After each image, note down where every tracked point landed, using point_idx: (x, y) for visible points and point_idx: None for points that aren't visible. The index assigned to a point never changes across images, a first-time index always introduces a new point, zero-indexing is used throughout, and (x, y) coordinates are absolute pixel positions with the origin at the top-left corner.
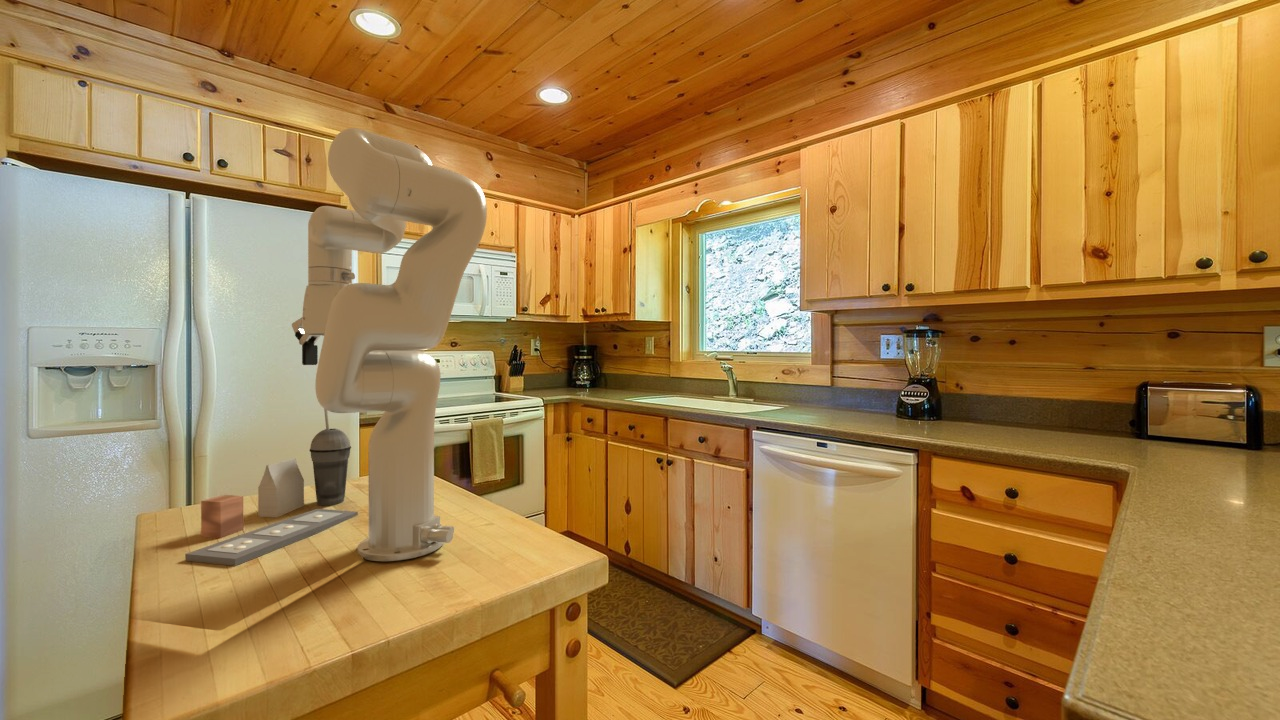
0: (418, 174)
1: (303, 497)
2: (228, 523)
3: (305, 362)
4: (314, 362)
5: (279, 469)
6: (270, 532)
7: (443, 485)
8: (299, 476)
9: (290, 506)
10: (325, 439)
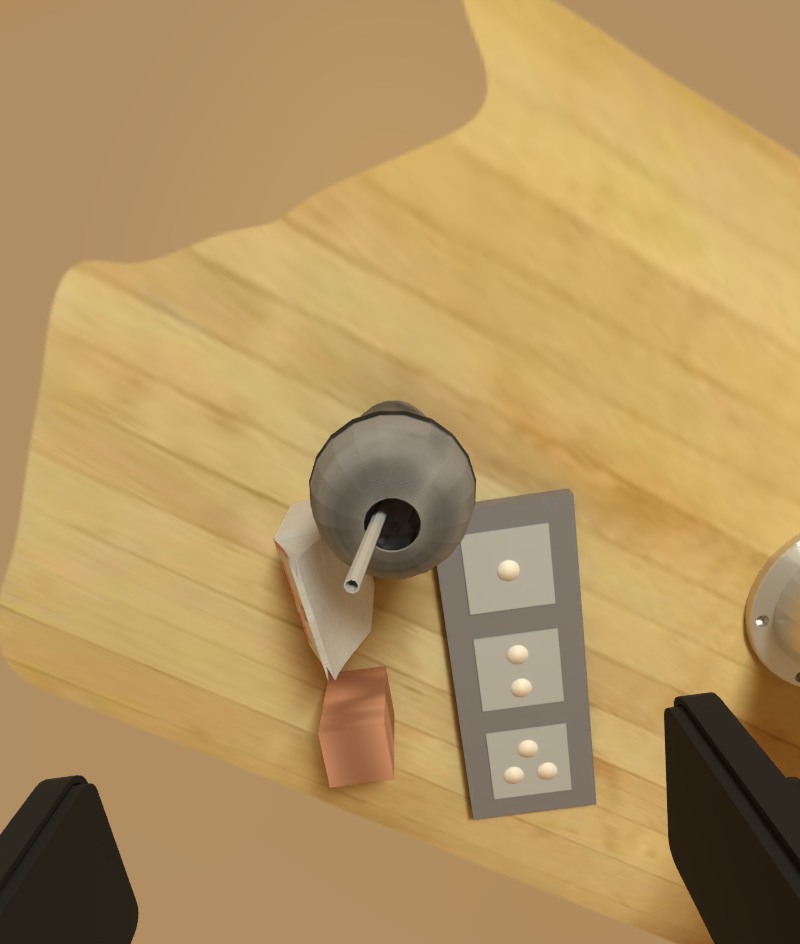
0: None
1: None
2: (391, 718)
3: (128, 939)
4: (93, 833)
5: (331, 627)
6: (517, 695)
7: (558, 16)
8: None
9: None
10: (432, 567)
